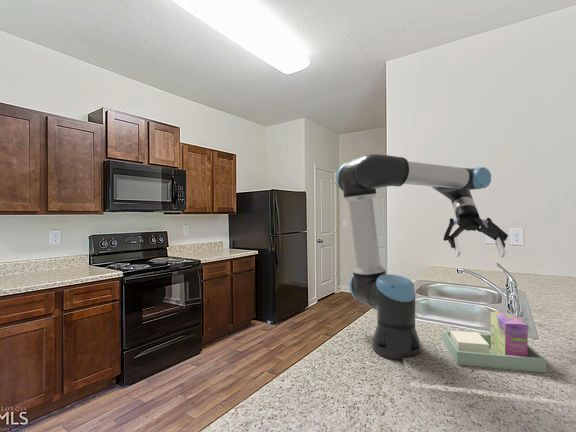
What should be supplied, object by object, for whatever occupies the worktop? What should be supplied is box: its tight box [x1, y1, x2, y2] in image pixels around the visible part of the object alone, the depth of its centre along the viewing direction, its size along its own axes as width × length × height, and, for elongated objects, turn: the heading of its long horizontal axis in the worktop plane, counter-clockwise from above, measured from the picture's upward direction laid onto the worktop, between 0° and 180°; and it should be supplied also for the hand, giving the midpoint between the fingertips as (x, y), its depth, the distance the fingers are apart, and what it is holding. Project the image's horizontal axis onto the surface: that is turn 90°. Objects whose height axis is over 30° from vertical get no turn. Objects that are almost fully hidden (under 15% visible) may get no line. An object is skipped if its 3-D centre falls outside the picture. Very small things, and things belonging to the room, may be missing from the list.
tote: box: [442, 330, 547, 374], centre depth 91 cm, size 22×16×4 cm
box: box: [490, 311, 529, 357], centre depth 90 cm, size 10×6×12 cm, turn 165°
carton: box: [449, 330, 489, 353], centre depth 92 cm, size 8×9×5 cm
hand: (480, 254), depth 103 cm, fingers open, 13 cm apart
